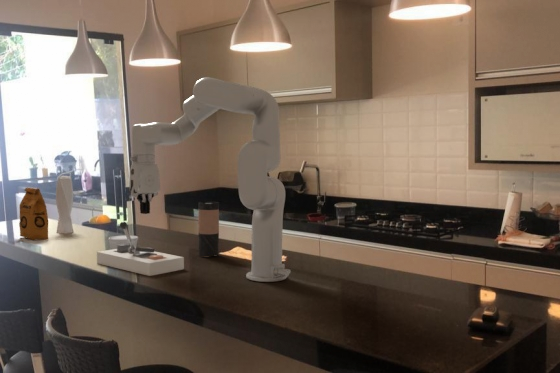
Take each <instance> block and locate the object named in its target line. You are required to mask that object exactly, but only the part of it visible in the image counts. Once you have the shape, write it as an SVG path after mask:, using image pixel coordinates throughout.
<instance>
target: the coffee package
mask: <svg viewBox="0 0 560 373" xmlns="http://www.w3.org/2000/svg"><path fill="white" fill-rule="evenodd" d="M24 191H25V194H24V196H23V197H22V199H21V201H20V202H19V203H20V204H19V223H18V225H19V236H20V237H22V238H26V239H28V240H32V241H41V240H48V239H49V218H48V210H47V206H46V202H45V199H44V198H43V195H42V192H41V190H40V188H34V187H33V188H32V187H25V189H24Z"/></svg>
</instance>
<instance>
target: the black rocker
mask: <svg viewBox="0 0 560 373" xmlns="http://www.w3.org/2000/svg"><path fill="white" fill-rule="evenodd" d="M135 251H140V252H154V251H155V248H153V247H145V246H144V247H140V246H137V247H136V250H135Z"/></svg>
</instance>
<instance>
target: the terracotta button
mask: <svg viewBox="0 0 560 373" xmlns="http://www.w3.org/2000/svg"><path fill="white" fill-rule="evenodd" d="M150 259H152V260H159V259H163V255H151V256H150Z"/></svg>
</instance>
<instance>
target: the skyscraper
mask: <svg viewBox="0 0 560 373" xmlns="http://www.w3.org/2000/svg"><path fill="white" fill-rule="evenodd" d="M65 174H69V176H68V175H65ZM55 202H56V207H57V212H58V220H57V221H58V222H57V227H56V234H65V235H67V234H72V233H74V228H73V222H72V216H71V214H72V210H73V204H74V187H73V180H72V172H69V171H68V172H62V173H60V174H59V175H58V176H57V180H56V188H55Z"/></svg>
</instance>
